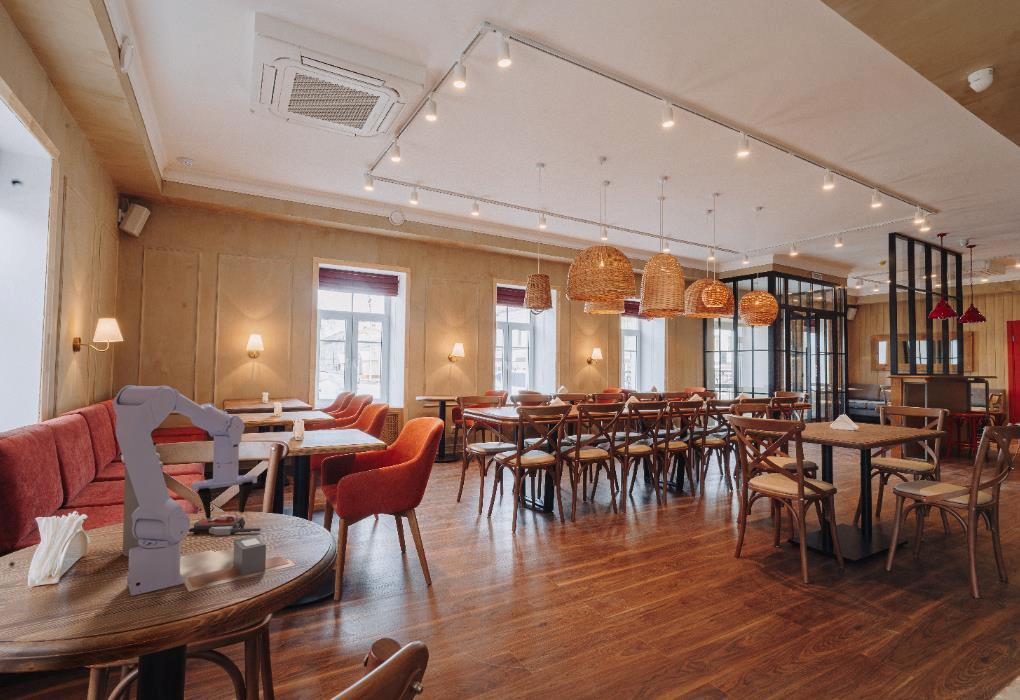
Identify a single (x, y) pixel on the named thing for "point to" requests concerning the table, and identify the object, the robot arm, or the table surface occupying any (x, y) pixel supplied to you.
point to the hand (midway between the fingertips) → (225, 514)
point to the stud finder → (249, 555)
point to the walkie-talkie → (221, 525)
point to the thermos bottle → (131, 511)
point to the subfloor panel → (218, 568)
